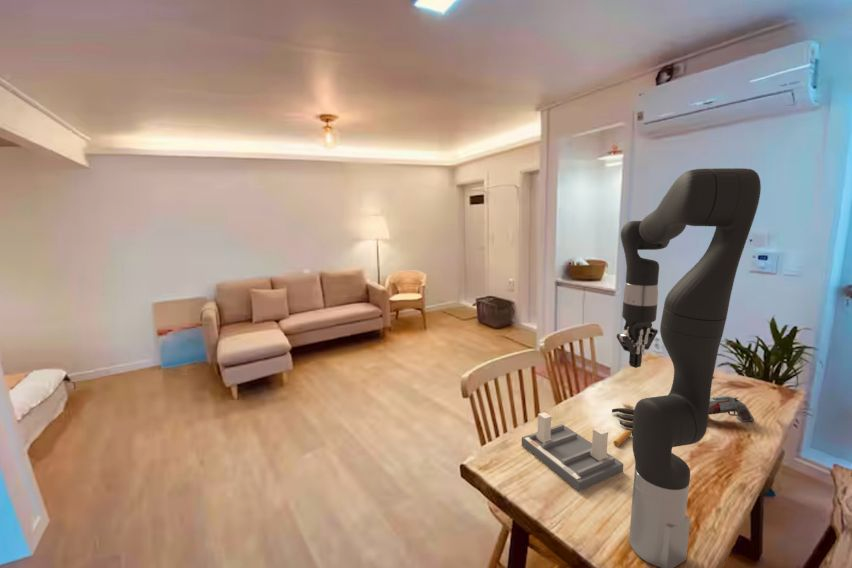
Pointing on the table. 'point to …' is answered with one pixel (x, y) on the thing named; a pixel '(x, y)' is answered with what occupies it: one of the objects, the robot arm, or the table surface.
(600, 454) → the near tab
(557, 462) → the switch box
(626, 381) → the table surface
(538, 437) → the far tab
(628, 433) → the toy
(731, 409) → the toy gun
